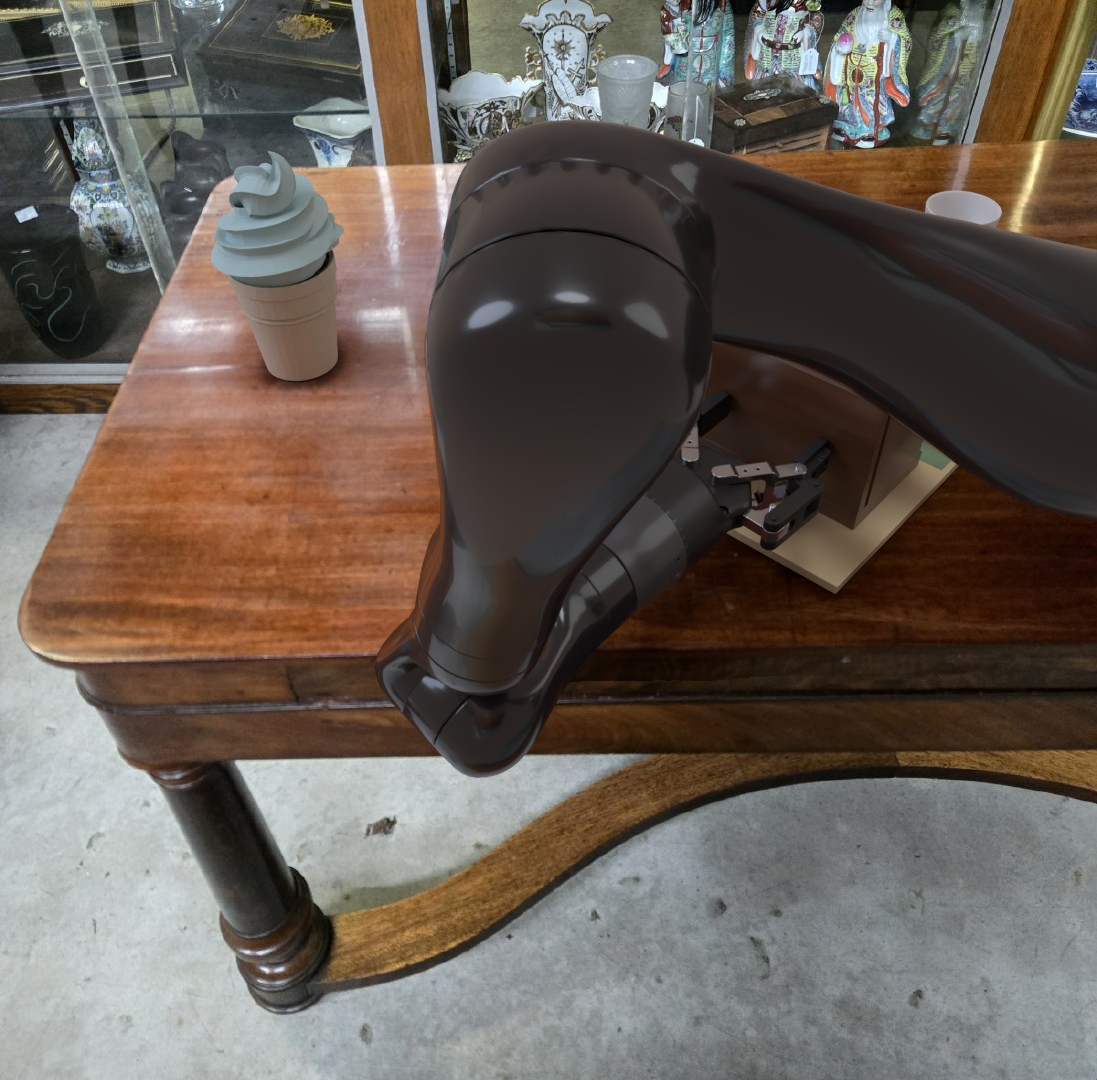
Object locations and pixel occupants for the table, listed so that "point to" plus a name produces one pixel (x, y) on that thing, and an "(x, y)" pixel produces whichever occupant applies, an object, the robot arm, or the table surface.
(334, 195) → the table surface
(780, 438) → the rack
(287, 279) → the ice cream cone
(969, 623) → the table surface
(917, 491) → the board
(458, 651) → the robot arm
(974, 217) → the teacup
